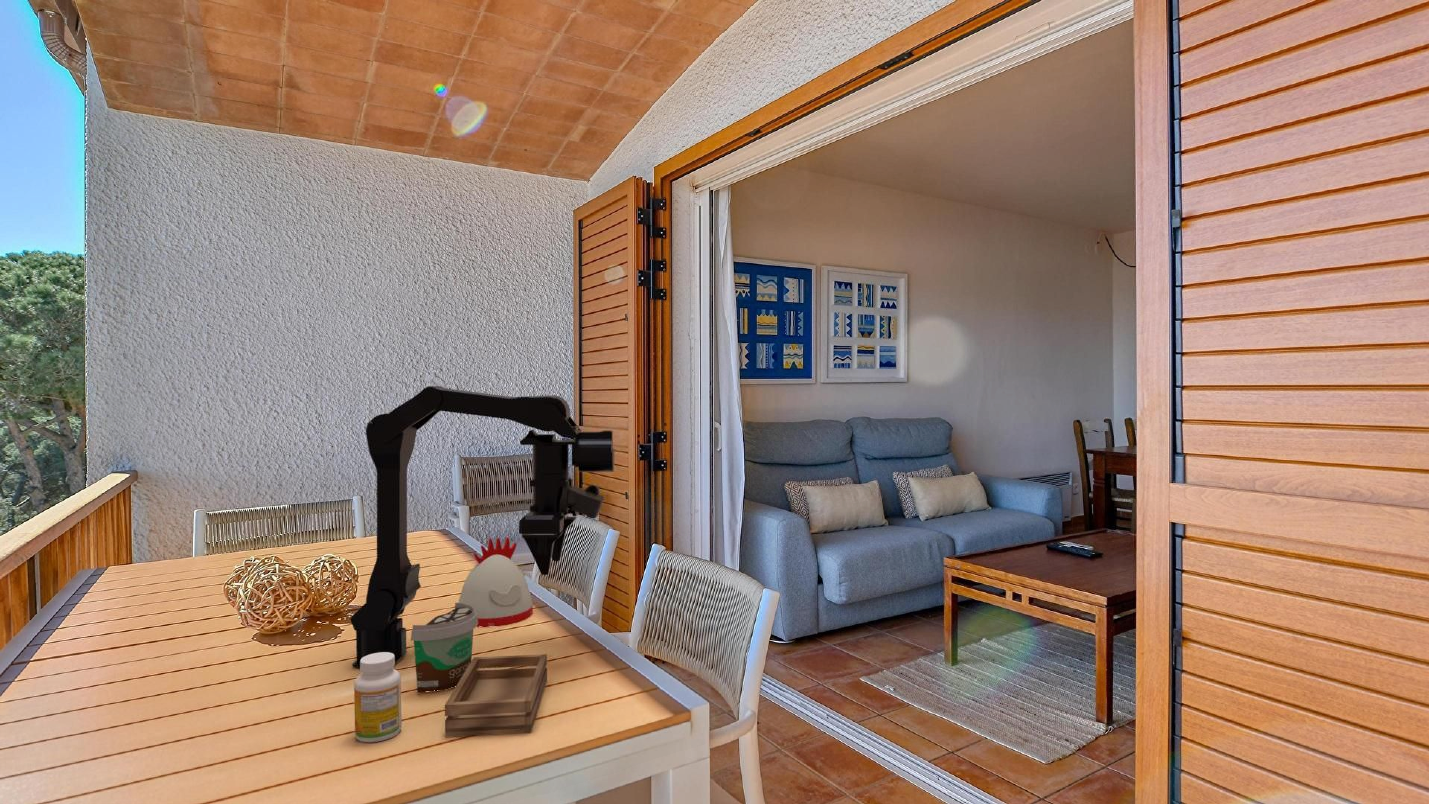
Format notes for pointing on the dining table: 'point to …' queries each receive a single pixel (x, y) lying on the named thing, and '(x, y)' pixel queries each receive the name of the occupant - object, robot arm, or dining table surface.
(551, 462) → the robot arm
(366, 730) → the supplement bottle
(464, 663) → the food container
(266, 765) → the dining table surface
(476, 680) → the tray
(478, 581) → the kitchen timer
